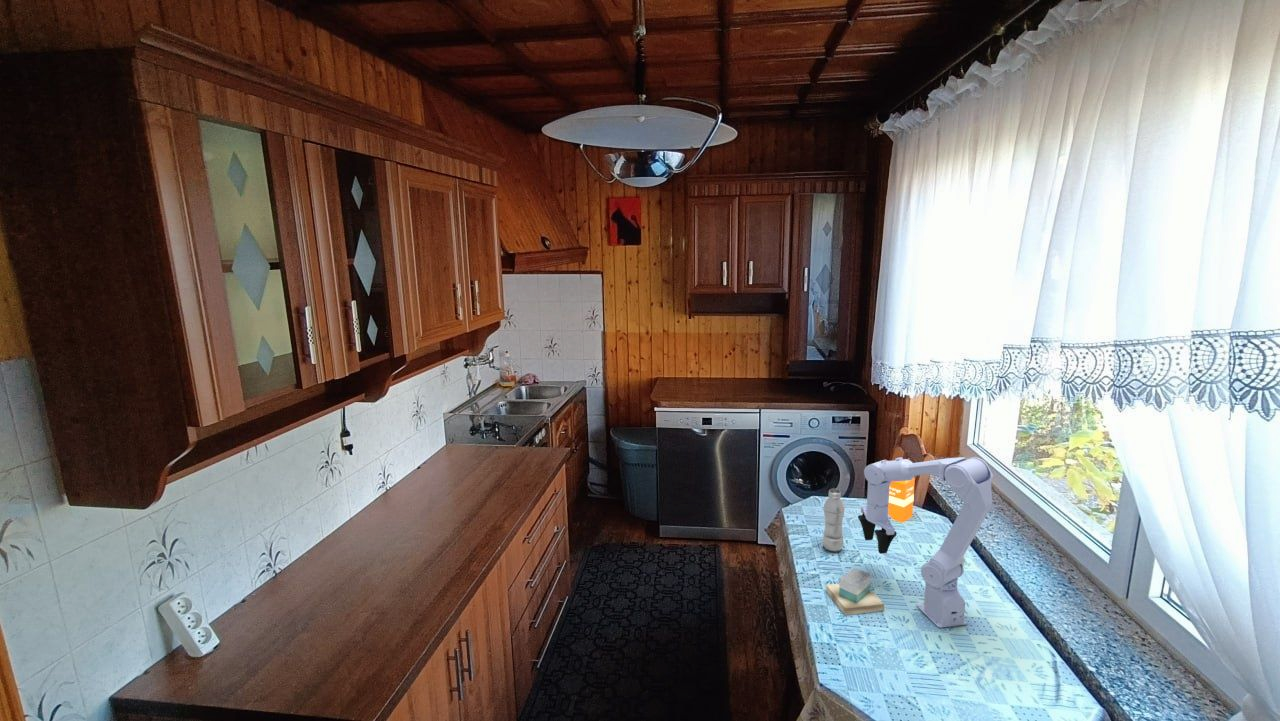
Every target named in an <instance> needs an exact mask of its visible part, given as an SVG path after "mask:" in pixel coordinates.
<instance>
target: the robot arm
mask: <svg viewBox="0 0 1280 721" xmlns="http://www.w3.org/2000/svg"><path fill="white" fill-rule="evenodd" d="M863 475H864V477H865V480H866V481H867V492H866V494H867V497H866V505H861V506H860V513H861V514H859V515H857V518H858V520H859V522H860V525H861V528H862V533H863V536H864V537H863V538H864V540H865V541H872V540H874V535H875V537H876V540H877V550H878V553H879V554H881V555H882V554H887V553H888V550H889V547H890V545H891V543H892V541H893V539H894V538H896V536H897V534H898V533H897V531H896V528H895V527H894V526H893V524H892V522H891V520H892V519H891V516H890V515H889V514H888V508H889V489H890V485H891V482H897V481H910V480H912V479H913V478H915V477H916V476H932V475H933V476H934V475H935V476H937V475H938V476H939V478H940V480H941V481H942V482H946V483H947V485H948V486H949V487H950V488H951V490H952V491H953V492H954V493H955V494H956V495H957V497H958V498H959V499H960V501H962V503H963V505H962V507H961V508H960V511H959V512H958V514H957V516H956V518H955V520H954V521H953V524H952V525H951V528H950V529H949V531H948V533H947V535H946V536H945V539H944V540H943V543H942V545H941V546H940V548H939V550H937V551H936V553H934V554H933V555H932V557H931V558H930V559H929V561H928V562H925V563H924V564H923V565H922V566H921V567H920V575H921V577H922V579H923V580H924V583H925V584H924V586H925V587H924V602H922V603H917V604H916V607H917V608H918V609H919V610H920V611H921V612H922V613H923V614H924V615H925V616H926V617H927V618H928V619H929V620H930V621H931V622H932V623H933V624H934V625H935V626H936V627H937V628H947V627H948V628H949V627H957V626H965V625H967V623H968V622H967V621H965V610H966V601H965V599H964V598H963V596H962V595H961V593H960V592H959V590H958V582H959V581H958V580H959V578H960V577H961V576H962V575H963V574H964V570H965V569H964V564H965V562H966V557H964V556H965V554H966V552H967V551H968V549H969V547H970V546H971V544H972V541H973V540H974V538H975V536H976V534H977V533H978V531H979V530H980V528H981V526H982V524H983V523H984V521H985V519H986V517H987V516H988V514H989V512H990V510H991V508H992V506H993V494H992V492H993V491H992V481H993V479H994V474H993V473H992V470H991V469H990V467H989V465H988V463H987V462H986V461H985V460H984V459H982V458H979V457H977V456H971V457H968V458H967V457H961V456H960V457H950V458H949V457H947V458H941V459H933V460H927V461H925V460H924V461H920V462H913V461H911V460H910V459H908V458H907V459H906V458H903V457H901V456H900V457H897V458H896V457H895V459H894V460H887V459H883V460H880V461H876V462H874V463H870V464H868V465H866V466H865V468H864V470H863ZM876 526H878V527H880V528H881V529H876Z"/></svg>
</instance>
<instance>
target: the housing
mask: <svg viewBox="0 0 1280 721" xmlns="http://www.w3.org/2000/svg"><path fill="white" fill-rule="evenodd" d="M839 583H840V586H839V596H841V597H843V598H845V599H847V600H849V601H852V602H854V603H856V604H857V603H858V602H859V601H860V600H861V599H862V598H864V597H865V596H866V595H867V594H868V593H869V592H870V591H871V590H872V588H871V587H872V586H871V585H872V574H870V573H868V572H866V571H862V570H860V569H858V568H856V567H853V568H852V569H851V570H850V571H848V572H847V573H846V574H845V575H843V576H842V577H841V578H840V579H839Z"/></svg>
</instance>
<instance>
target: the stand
mask: <svg viewBox="0 0 1280 721" xmlns="http://www.w3.org/2000/svg"><path fill="white" fill-rule="evenodd" d="M839 586H840V582H839V583H832V584H831V583H830V584H826V585H825V589H826V590H825V592H826V593H827V594H828V595H829V597H830V598H831V599H832V601H833V602H834V603H835V605H836V606H837V608H839V610H840V611H841V612H842V614H844V616H849V615H858V614H859V615H861V614H865V613H866V614H867V613H869V614H870V613H878V612H884V611H885V603H884V602H883V601H882V600H881V599H880V598H879V597H878V595H876V594H875V592H874V591H872V589H871V591H870V592H869V593H868V594H867V595H866V596H865V597H864V598H862V599H861V600H860V601H859V602H858V603H857V604H856V603H854V602H852V601H849V600H847V599H845V598H843V597H841V596H839Z"/></svg>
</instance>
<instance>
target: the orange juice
mask: <svg viewBox="0 0 1280 721" xmlns="http://www.w3.org/2000/svg"><path fill="white" fill-rule="evenodd" d="M915 480H916V479H915V477H914V478H913V479H912V480H910V481H897V482H891V485H890V489H889V508H888V514H889V515H890V516H891V518H892V519H891V520H893V519H894V520H893V521H896V522H899V523H902V524H903V523H905V522H906V521H907V520H909V519H911V518H912V517H913V512H914V511H913V510H914V501H915V500H914V498H915V497H914V496H915Z"/></svg>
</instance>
